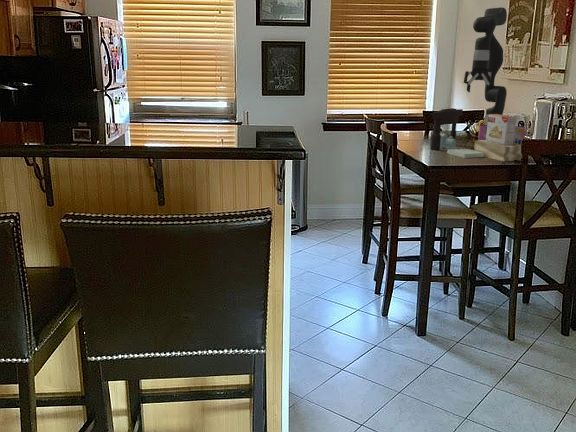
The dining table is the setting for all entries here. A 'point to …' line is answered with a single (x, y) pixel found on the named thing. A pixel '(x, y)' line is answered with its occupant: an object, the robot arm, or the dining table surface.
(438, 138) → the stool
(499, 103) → the robot arm
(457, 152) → the plate
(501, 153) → the holder
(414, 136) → the dining table surface
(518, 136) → the gum box
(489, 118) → the cracker box
